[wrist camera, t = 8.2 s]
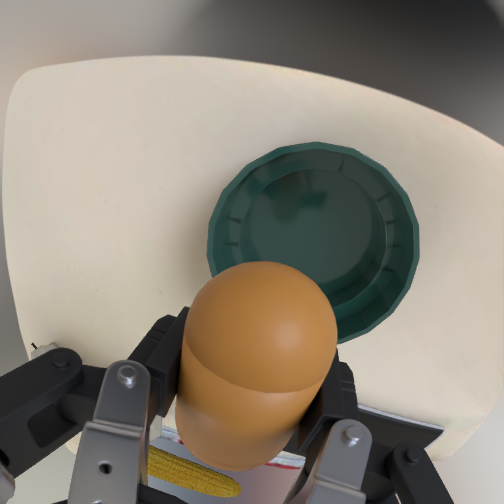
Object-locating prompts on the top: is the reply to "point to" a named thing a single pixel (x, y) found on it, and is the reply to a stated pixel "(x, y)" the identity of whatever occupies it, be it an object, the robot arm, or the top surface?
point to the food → (190, 474)
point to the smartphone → (388, 430)
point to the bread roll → (251, 363)
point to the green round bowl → (322, 228)
